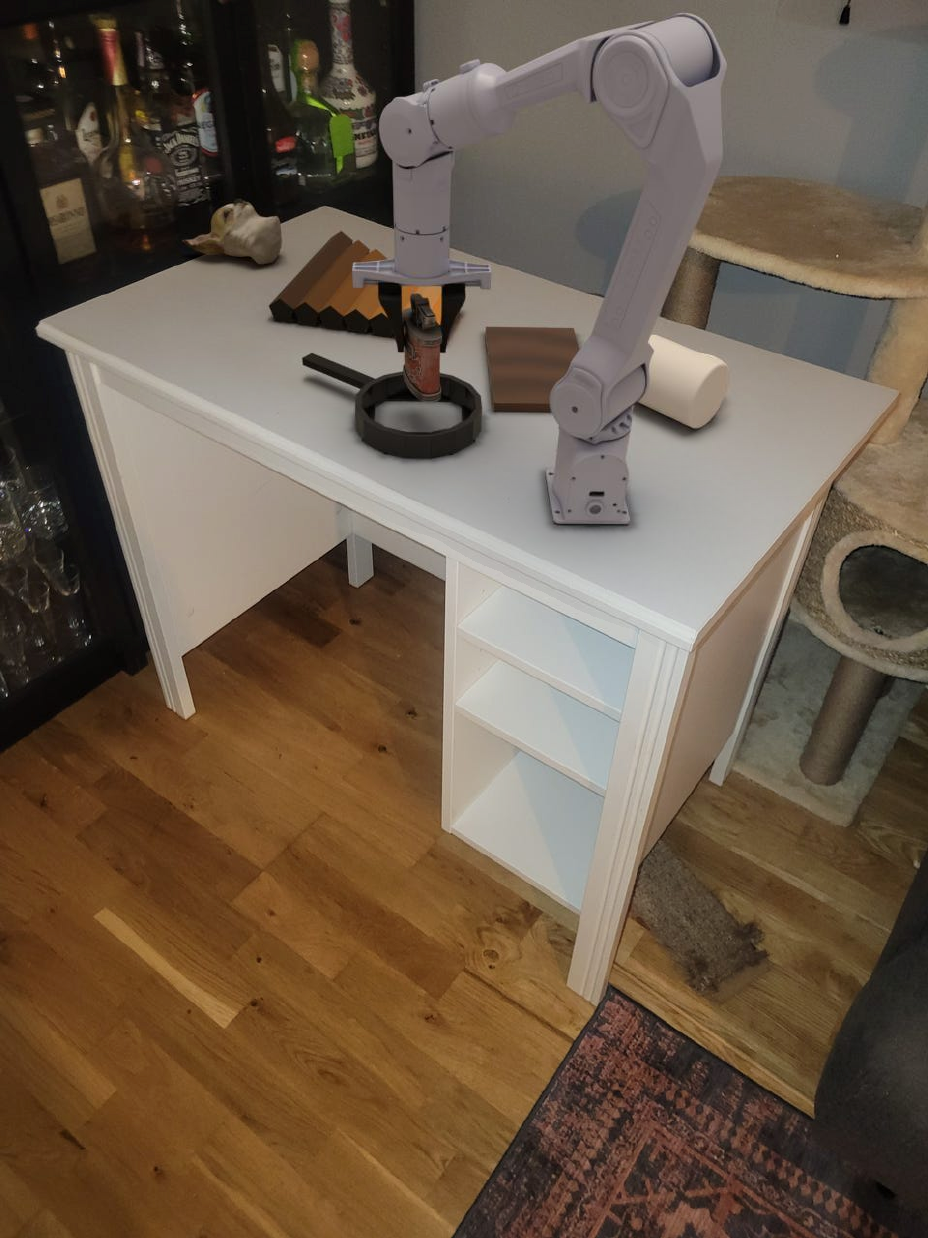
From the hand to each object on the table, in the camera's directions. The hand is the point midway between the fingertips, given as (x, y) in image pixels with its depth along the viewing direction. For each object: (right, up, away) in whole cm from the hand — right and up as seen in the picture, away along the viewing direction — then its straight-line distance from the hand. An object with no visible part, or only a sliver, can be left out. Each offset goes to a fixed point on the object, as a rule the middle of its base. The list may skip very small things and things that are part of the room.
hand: (422, 348), depth 106 cm
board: (+14, +2, +16) cm, 22 cm away
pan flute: (-7, +17, +32) cm, 36 cm away
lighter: (0, -3, +3) cm, 5 cm away
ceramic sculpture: (-29, +25, +40) cm, 56 cm away
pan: (-4, -6, +8) cm, 10 cm away
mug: (+31, -4, +12) cm, 33 cm away
